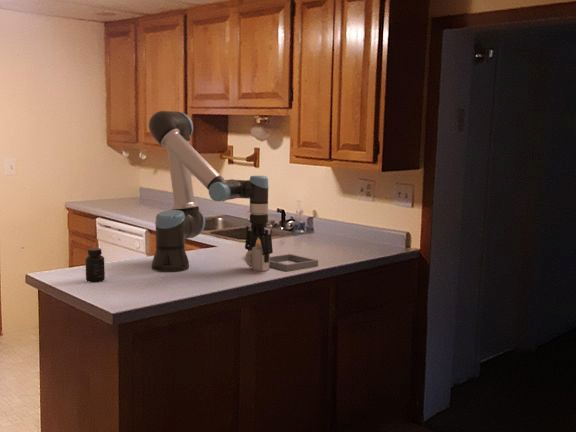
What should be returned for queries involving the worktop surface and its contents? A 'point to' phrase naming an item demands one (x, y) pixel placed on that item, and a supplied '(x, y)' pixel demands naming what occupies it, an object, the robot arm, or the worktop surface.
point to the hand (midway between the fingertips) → (258, 268)
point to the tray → (295, 266)
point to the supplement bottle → (95, 265)
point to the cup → (256, 258)
